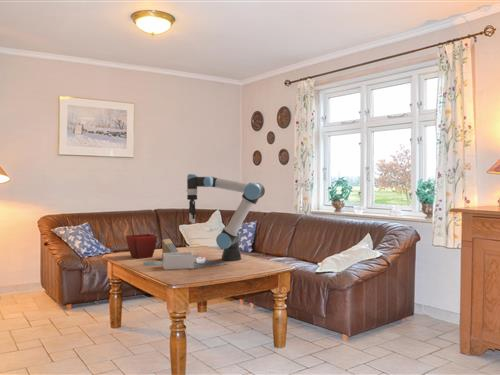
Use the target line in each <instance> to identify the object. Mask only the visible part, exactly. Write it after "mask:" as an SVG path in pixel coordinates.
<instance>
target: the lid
mask: <svg viewBox="0 0 500 375" xmlns="http://www.w3.org/2000/svg"><path fill="white" fill-rule="evenodd" d="M160 265H162V266H163V260H162V261H161V260H160V261H159V260H158V261H143V266H160Z"/></svg>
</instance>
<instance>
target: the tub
mask: <svg viewBox="0 0 500 375" xmlns="http://www.w3.org/2000/svg"><path fill="white" fill-rule="evenodd" d="M162 261H163V265H162V266H163V269H164V270H165V271H166V270H181V269H195V255H194V252H192V251H178V252H176V253H163V258H162Z"/></svg>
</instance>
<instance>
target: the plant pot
mask: <svg viewBox="0 0 500 375" xmlns="http://www.w3.org/2000/svg"><path fill="white" fill-rule="evenodd" d="M125 238H126V243H127V247H128V250H129V254H130V256H131V257H133V258H135V259H144V258H152V257H153V256H154V254H155V249H156V247H157V242H158V235H156V234H151V233H143V234H140V233H139V234H130V235H126V236H125Z"/></svg>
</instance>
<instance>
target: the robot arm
mask: <svg viewBox="0 0 500 375" xmlns="http://www.w3.org/2000/svg"><path fill="white" fill-rule="evenodd" d="M186 177H187V179H186V182H187V183H186V184H187V185H186V190H185V191H186V193H187V194H186V197H187V198H186V200H189V202H188V204H189V205H188V206H189V207H188V213H189V216H188V217H189V220H188V221H189V222H190V223H191V224H196V214H197V213H196V212H197V211H196V201H197V200H198V195H197V194H198V188H200V187H203V188H209V187H210V188H217V189H222V190H226V191H232V192H237V193H242V195H241V199H242V200H241V202H239V205H238V206H237V208H236V210H235V212H234V213H233V215H232V216H231V219H230V221H229V222H228V224H227V226H225V227H223V228H222V230H221V232H220V233H219V234H218V235H217V236H216V239H215V242H216V244H217V246H218V248H220V249H223V252H222V255H221V260H223V261H240V260H242V254H241V250H240V230H239V229H240V228H241V226H242V224H243V222H244V221H245V219H246V217H247V215H248V214H249V213H250V210H251V209H252V208H253V206H254V205H257V203H258V201H259V199H261V198H262V197H263V196H264V195H265V192H266V191H265V186H264V185H263V184H262V183H259V182H248V183H247V182H240V181H237V180H235V181H234V180H229V179H224V178H220V177H219V178H218V177H214V176H198V174H196V173H194V174H193V173H188V174H187V176H186Z"/></svg>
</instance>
